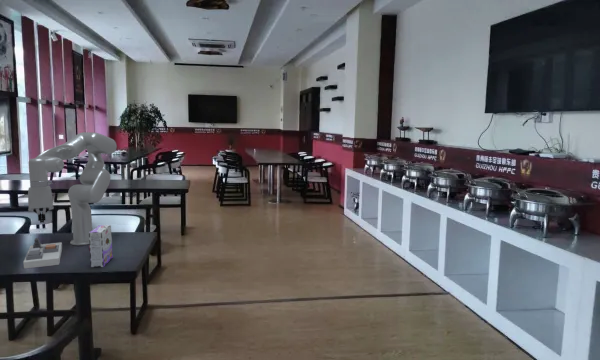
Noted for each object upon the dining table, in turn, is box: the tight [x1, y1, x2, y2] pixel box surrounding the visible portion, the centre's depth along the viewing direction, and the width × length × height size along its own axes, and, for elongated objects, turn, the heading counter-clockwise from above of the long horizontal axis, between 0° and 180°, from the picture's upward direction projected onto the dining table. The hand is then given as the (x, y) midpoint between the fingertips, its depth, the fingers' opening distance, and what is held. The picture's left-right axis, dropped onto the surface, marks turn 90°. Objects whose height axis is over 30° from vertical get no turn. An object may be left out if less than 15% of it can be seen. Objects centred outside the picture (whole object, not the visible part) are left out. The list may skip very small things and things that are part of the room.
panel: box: [22, 242, 63, 270], centre depth 221 cm, size 14×30×5 cm, turn 25°
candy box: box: [88, 224, 114, 268], centre depth 212 cm, size 14×6×16 cm, turn 5°
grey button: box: [28, 248, 40, 256], centre depth 211 cm, size 4×4×2 cm
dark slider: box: [33, 237, 42, 248], centre depth 227 cm, size 3×5×4 cm, turn 25°
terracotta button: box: [46, 243, 56, 249], centre depth 222 cm, size 4×4×2 cm
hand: (42, 222), depth 220 cm, fingers closed
